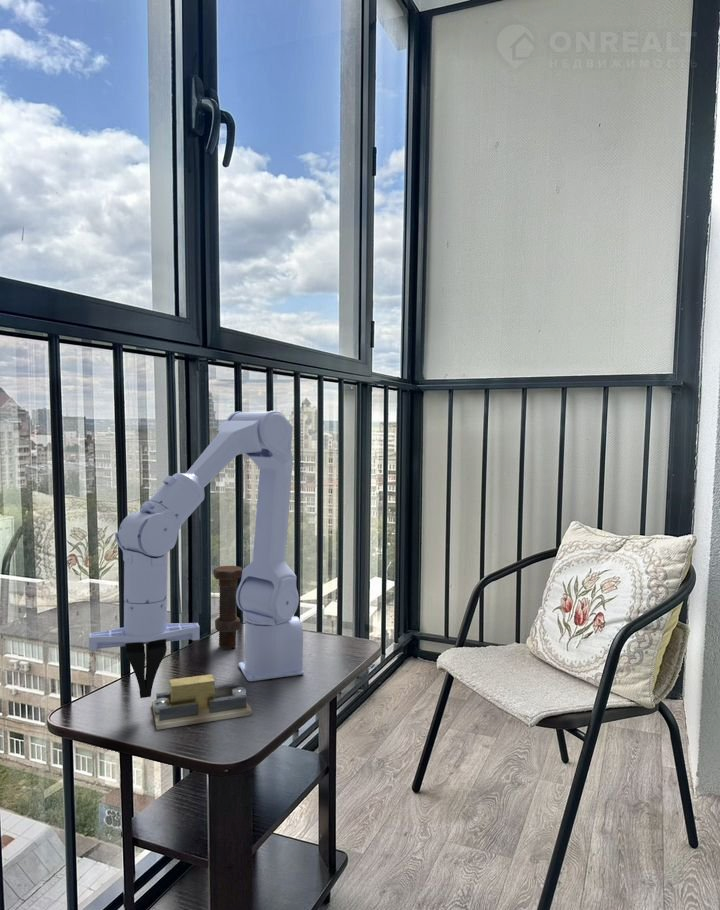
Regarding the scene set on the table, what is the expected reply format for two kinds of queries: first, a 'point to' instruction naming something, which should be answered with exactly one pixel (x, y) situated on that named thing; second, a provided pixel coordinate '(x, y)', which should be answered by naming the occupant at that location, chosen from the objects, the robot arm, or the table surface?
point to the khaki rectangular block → (193, 690)
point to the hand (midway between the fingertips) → (145, 694)
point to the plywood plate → (201, 717)
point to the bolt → (227, 605)
